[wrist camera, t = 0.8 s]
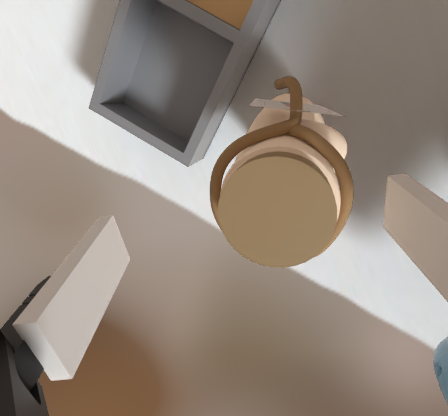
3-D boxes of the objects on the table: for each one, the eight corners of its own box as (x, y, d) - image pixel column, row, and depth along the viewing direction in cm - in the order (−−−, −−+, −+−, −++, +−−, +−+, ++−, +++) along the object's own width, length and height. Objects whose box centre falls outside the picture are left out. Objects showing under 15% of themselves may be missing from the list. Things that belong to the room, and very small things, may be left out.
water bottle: (249, 101, 38) (137, 95, 12) (323, 83, 35) (380, 27, 10) (264, 179, 41) (197, 309, 15) (333, 168, 38) (399, 302, 12)
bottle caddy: (329, -98, 30) (334, -143, 24) (203, 158, 42) (188, 166, 36) (205, -164, 30) (183, -222, 25) (116, 107, 42) (88, 108, 37)
